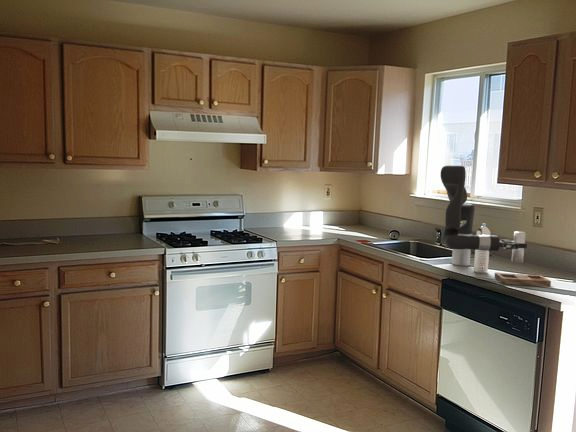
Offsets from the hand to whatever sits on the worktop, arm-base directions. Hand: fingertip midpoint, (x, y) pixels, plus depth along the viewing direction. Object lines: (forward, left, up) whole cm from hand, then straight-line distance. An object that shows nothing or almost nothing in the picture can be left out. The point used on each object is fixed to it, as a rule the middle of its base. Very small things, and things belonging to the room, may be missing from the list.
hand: (524, 245), depth 261 cm
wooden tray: (0, 0, -18) cm, 18 cm away
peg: (0, -3, -8) cm, 8 cm away
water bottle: (-17, -15, -18) cm, 29 cm away
